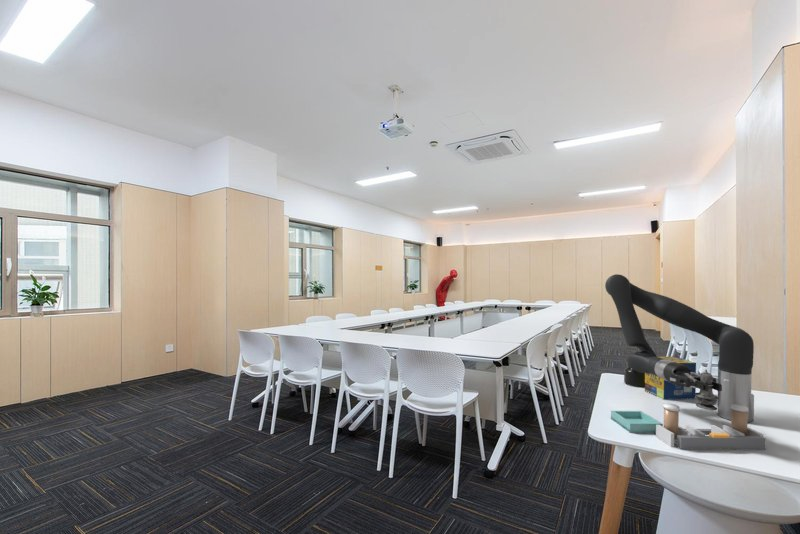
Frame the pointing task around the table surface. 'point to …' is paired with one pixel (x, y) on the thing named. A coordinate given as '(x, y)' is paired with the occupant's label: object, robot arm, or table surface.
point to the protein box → (668, 389)
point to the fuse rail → (712, 438)
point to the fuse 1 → (671, 418)
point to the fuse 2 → (739, 418)
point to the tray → (635, 421)
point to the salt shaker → (706, 393)
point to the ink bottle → (634, 377)
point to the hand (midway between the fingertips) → (713, 387)
